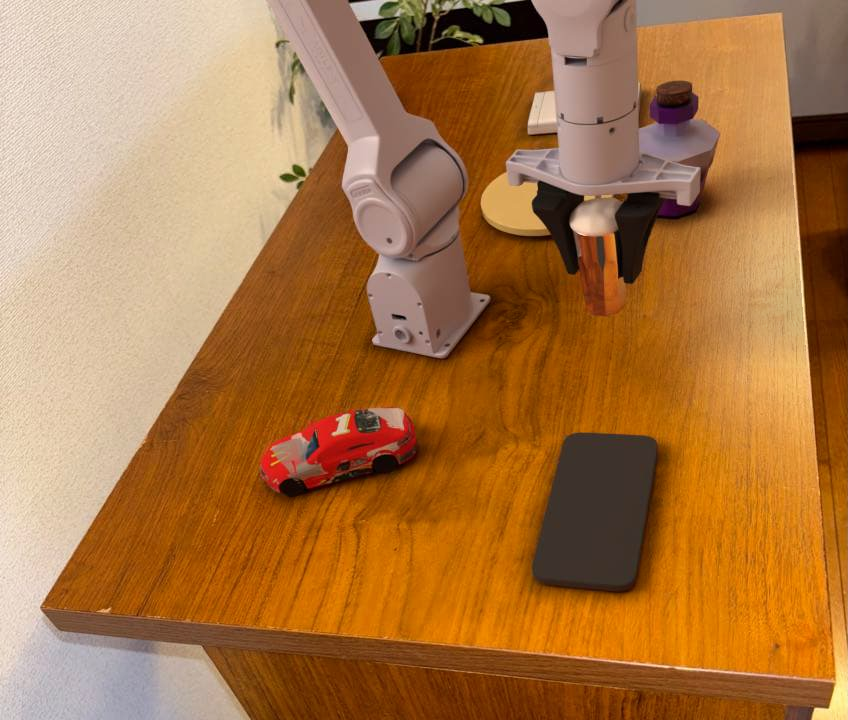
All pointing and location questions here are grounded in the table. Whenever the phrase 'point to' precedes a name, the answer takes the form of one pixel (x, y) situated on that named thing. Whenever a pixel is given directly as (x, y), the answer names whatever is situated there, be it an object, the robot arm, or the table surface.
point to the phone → (596, 512)
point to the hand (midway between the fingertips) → (604, 272)
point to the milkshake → (599, 255)
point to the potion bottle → (679, 138)
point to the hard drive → (549, 113)
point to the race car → (339, 449)
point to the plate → (514, 207)
